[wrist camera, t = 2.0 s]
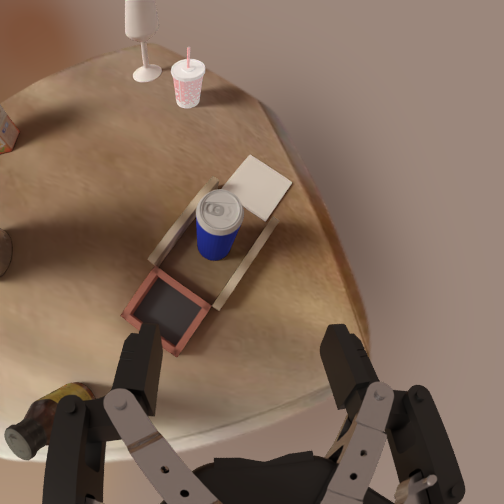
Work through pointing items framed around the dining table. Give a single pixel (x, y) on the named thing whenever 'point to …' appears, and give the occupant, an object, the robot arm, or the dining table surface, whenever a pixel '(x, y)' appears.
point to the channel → (183, 224)
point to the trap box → (166, 309)
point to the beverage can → (218, 223)
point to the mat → (257, 187)
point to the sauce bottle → (40, 421)
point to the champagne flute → (142, 33)
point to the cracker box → (7, 132)
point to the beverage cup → (188, 81)
